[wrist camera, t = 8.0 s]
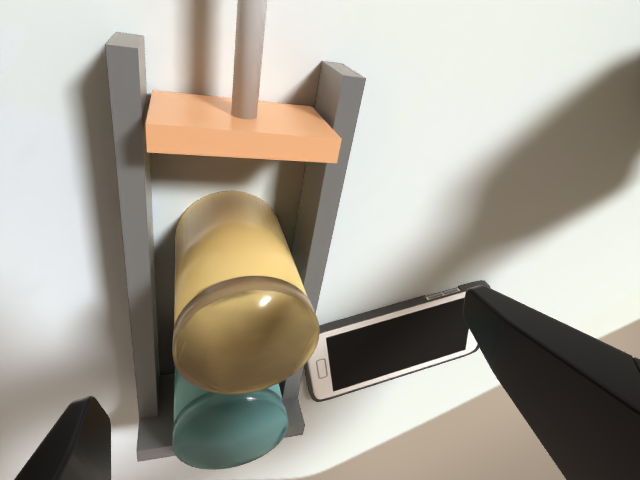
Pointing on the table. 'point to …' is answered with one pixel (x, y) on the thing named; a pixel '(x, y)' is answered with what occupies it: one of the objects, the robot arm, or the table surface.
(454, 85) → the table surface
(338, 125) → the lane
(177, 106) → the pusher
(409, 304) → the cell phone
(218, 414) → the jar
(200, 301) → the ochre jar
